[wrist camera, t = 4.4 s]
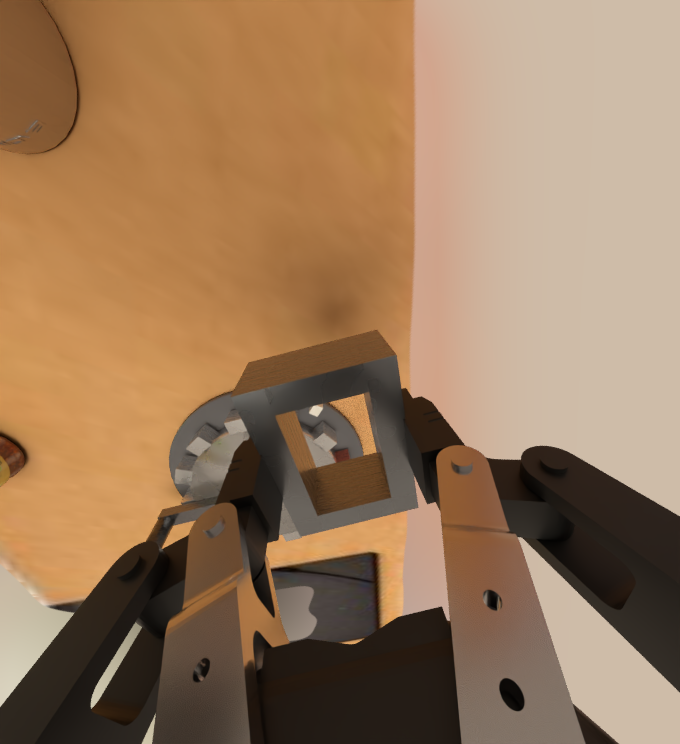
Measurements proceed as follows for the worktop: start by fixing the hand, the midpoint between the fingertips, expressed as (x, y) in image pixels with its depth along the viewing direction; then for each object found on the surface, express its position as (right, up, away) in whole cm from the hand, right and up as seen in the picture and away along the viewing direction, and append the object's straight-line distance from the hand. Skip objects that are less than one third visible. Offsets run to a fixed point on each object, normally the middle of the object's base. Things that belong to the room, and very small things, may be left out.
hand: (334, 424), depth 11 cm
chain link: (0, 0, 0) cm, 0 cm away
